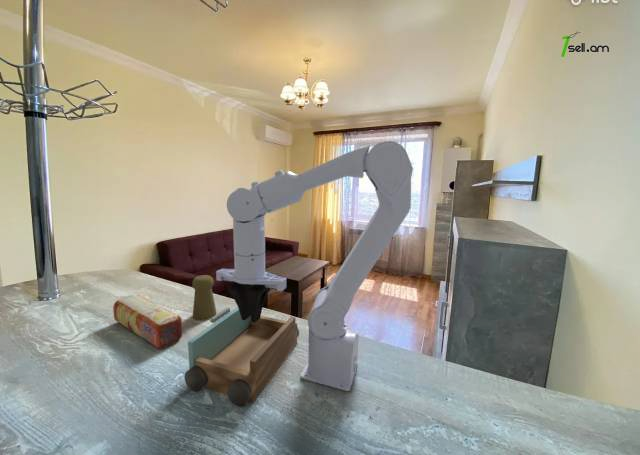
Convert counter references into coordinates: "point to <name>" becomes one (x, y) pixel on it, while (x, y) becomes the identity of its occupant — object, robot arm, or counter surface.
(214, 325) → the tailgate
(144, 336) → the snack package
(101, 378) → the counter surface
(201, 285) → the olive tapered cylinder
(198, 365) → the cart
